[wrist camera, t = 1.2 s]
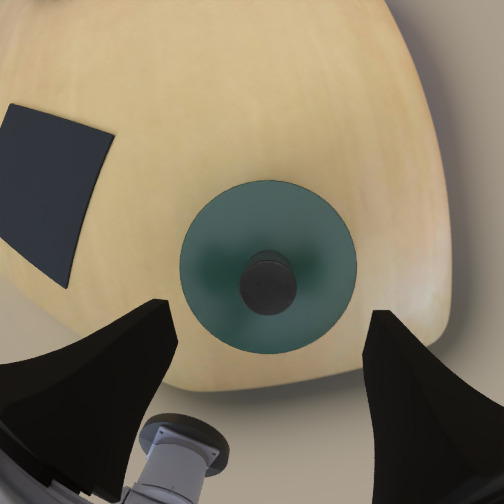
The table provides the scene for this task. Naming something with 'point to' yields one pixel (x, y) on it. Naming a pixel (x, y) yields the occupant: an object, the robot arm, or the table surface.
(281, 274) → the tin lid
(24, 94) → the table surface
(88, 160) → the mat
